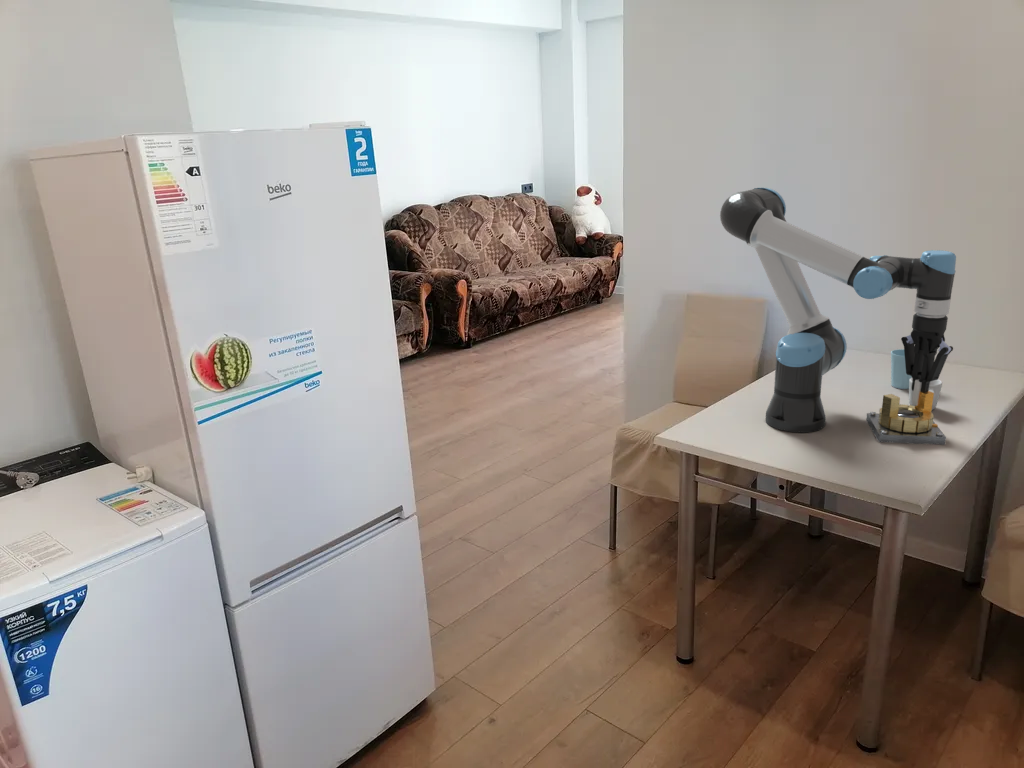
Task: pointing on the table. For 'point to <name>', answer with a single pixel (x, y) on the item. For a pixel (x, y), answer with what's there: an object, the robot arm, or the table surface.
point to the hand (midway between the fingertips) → (917, 403)
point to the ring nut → (891, 407)
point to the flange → (904, 437)
